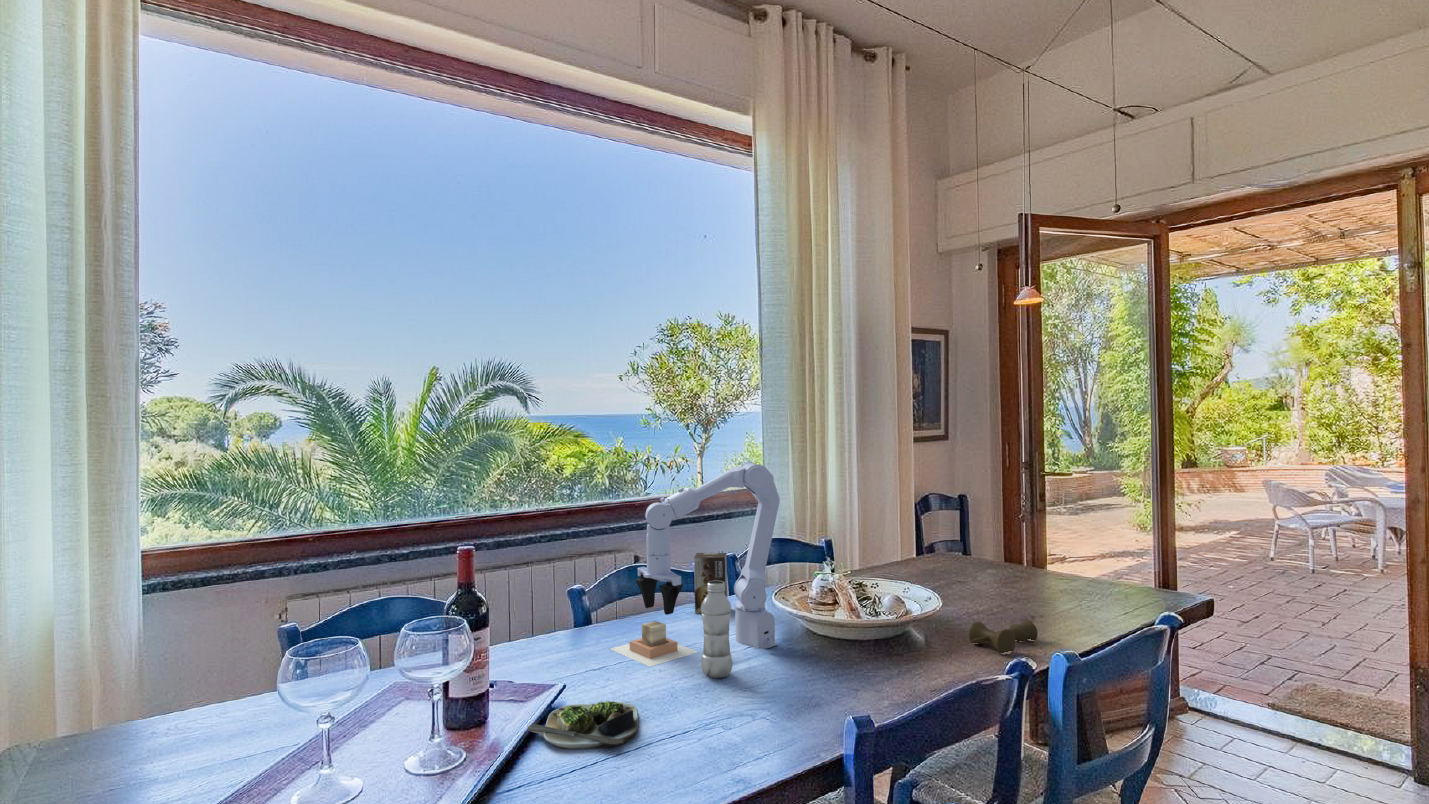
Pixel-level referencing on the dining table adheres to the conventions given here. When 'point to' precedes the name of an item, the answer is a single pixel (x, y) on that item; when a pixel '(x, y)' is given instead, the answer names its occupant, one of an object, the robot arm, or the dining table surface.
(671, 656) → the cream flat mat
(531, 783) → the dining table surface
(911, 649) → the dining table surface
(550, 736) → the salad plate
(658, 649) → the terracotta holder
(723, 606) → the plastic bottle
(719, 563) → the coffee box
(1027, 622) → the olive double spool shape
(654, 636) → the birch peg
